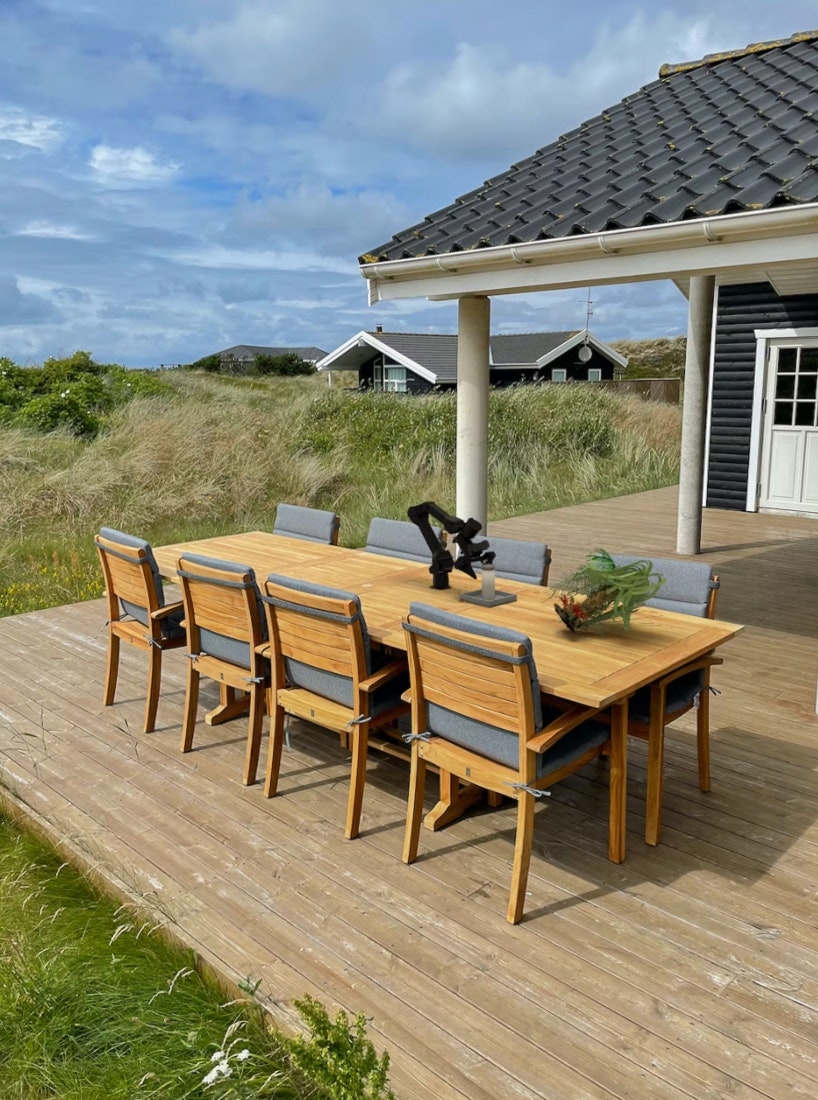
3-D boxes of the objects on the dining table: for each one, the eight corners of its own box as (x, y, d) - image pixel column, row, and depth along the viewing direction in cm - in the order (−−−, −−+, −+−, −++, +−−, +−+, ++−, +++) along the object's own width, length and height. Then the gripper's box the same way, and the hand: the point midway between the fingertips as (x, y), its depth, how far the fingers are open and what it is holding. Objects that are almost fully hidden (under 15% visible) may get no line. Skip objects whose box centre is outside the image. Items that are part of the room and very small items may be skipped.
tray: (459, 600, 342) (459, 594, 342) (487, 593, 353) (487, 587, 352) (489, 607, 331) (489, 601, 330) (516, 600, 341) (516, 594, 341)
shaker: (479, 599, 340) (479, 566, 338) (483, 596, 345) (483, 563, 343) (492, 600, 338) (493, 566, 336) (496, 597, 343) (496, 564, 341)
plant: (534, 594, 318) (632, 544, 316) (580, 678, 303) (683, 626, 302) (524, 562, 286) (633, 507, 284) (575, 654, 272) (690, 596, 270)
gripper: (458, 536, 337) (477, 569, 330) (493, 531, 348) (512, 562, 342) (445, 553, 344) (463, 585, 338) (480, 547, 356) (498, 578, 349)
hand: (484, 577), depth 342 cm, fingers open, 9 cm apart
